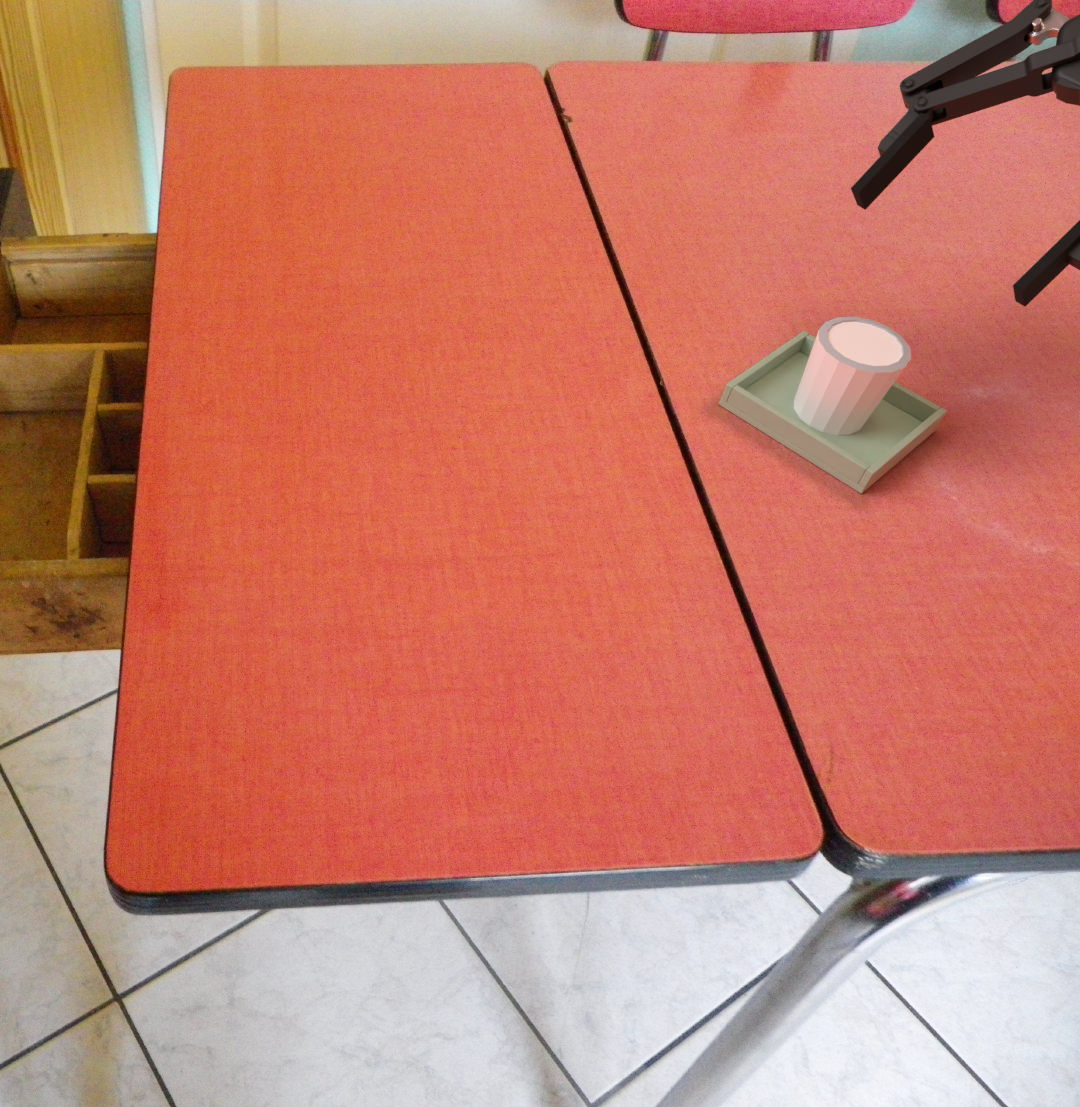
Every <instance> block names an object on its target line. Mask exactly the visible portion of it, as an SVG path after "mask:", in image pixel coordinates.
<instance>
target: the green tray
mask: <svg viewBox="0 0 1080 1107" xmlns="http://www.w3.org/2000/svg"><path fill="white" fill-rule="evenodd" d="M815 339H816V336H814V335H813V334H810V333H809V332H807V331H805V330H802V331H801V332H799V333H798V334H797V335H795V336H794V337H793V338H791V339H789V340H788V341H787V342H785V343H784V344H782V345H781V346H779V347H778V348H776V349H775V350H773V351H772V352H771V353H769V354H767V355H766V356H765V357H764V358H762V359H760V360H759V361H758V362H756V363H755V364H753V365H751V367H749V368H747V369H746V370H745V371H743V372H741V373H740V374H739V375H738V376H735V377H734V378H733V379H731V380H730V381H728V382H727V383H726V384H725V387H724V390H723V392H722V394H721V396H720V399H719V402H718V405H719V406H720V407H722V408H723V409H725V410H727V411H728V412H731V414H733V415H735V416H737V417H738V418H740V420H741V419H742V420H743V421H745V422H746V423H748V424H749V425H751V426H752V427H754V428H756V429H757V430H759V431H760V432H762V433H763V434H765V435H766V436H768V437H770V438H771V439H773V440H774V441H776V442H778V443H780V444H781V445H783V446H784V447H786V448H787V449H789V450H791V451H792V452H794V453H795V454H797V455H798V456H800V457H802V458H803V459H804V460H806V461H808V462H810V463H811V464H813V465H814V466H816V467H818V468H819V469H821V470H822V471H824V472H826V473H827V474H829V475H830V476H832V477H834V478H835V479H837V480H838V481H840V482H842V483H843V484H845V485H846V486H847V487H849V488H851V489H853V490H854V491H856V492H858V493H859V494H864V492H865V491H867V489H869V488H870V487H871V486H872V485H874V484H875V483H876V482H877V481H878V480H879V479H881V478H882V477H883V476H884V475H885V474H886V473H888V472H889V471H890V470H891V469H893V467H895V466H896V465H897V464H899V463H900V462H901V460H903V459H904V458H905V457H906V456H907V455H909V454H910V453H911V452H912V451H913V450H915V449H916V448H917V447H918V446H919V445H920V444H921V443H923V442H924V441H925V440H926V439H927V438H929V437H930V436H931V435H932V434H933V433H934V432H936V430H937V429H938V427H939V425H940V423H941V422H942V420H943V419H944V418H945V416H946V414H947V413H948V410H947V409H945V408H943V407H941V406H940V405H938V404H936V403H935V402H933V401H930V400H929V399H927V398H926V397H924V396H922V395H921V394H918V393H916V392H914V391H913V390H911V389H909V388H907V387H906V386H904V385H902V384H900V383H899V382H897V381H895V382H894V383H893V385H892V386H891V387H890V389H889V390H888V392H887V393H886V394H885V396H884V397H883V399H882V400H881V401H880V403H879V404H878V405H877V407H876V408H875V410H874V411H873V412H872V414H871V415H870V417H869V418H868V419H867V421H866V422H865V423H864V425H863V426H862V428H861V429H860V430H859V431H857V432H855V433H852V434H850V435H833V434H828V433H823V432H820V431H818V430H816V429H814V428H812V427H810V426H808V425H807V424H806V423H805V422H803V421H802V420H801V419H800V418H799V417H798V415H797V413H796V412H795V410H794V399H795V396H796V393H797V390H798V387H799V385H800V382H801V379H802V376H803V373H804V370H805V367H806V365H807V362H808V359H809V356H810V353H811V350H812V348H813V345H814V342H815Z"/></svg>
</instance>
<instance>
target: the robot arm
mask: <svg viewBox="0 0 1080 1107" xmlns="http://www.w3.org/2000/svg"><path fill="white" fill-rule="evenodd" d="M1051 38H1056V42H1055V45H1054V46H1051V47H1048V48H1044V49H1041V50H1038V51H1036V52H1033V53H1031V54H1029V55H1027V57H1025V59H1024V60H1022V61H1019V62H1016V63H1013V64H1010V65H1007V66H1004V67H1001V68H998V69H995V70H992V71H989V70H991V69H993V68H995V67H997V66H999V65H1001V64H1003V63H1004V62H1006V61H1008V60H1010V59H1012V58H1014V57H1016V56H1017V55H1019V54H1021V53H1022V52H1024V51H1025V50H1026V49H1028V48H1029V47H1031V46H1032V45H1034V46H1035V47H1036V46H1040V45H1043V43H1044V42H1045V41H1046V40H1048V39H1051ZM1049 69H1051V71H1050V72H1047V73H1044V72H1045V71H1047V70H1049ZM987 71H989V72H987ZM985 72H986V73H985ZM899 90H900V93H901V98H902V101H903V104H904V107H905V108H906V109H907V112H906V113H905V114H904V115H903V116H902V118H900V119H899V121H897V123H896V124H895V125H894V126H893V127H892V128H891V130H889V131H888V133H887V134H886V135H885V136H884V137H883V138H882V139H881V140H880V142H879V144H878V146H877V151H878V154H879V157H878V158H877V159H876V160H875V162H873V163H872V164H871V166H870V167H869V168H868V169H867V170H866V171H865V172H864V173H863V174H862V176H860V177H859V179H858V180H857V181H856V182H855V183H854V184H853V185H852V186H851V187H850V191H851V193H852V195H853V198H854V200H855V202H856V205H857V206H858V207H860V208H861V209H863V210H864V211H866V210H867V209H868V208H869V207H870V206H871V205H872V204H873V203H874V201H876V199H878V197H879V196H880V195H881V194H883V192H884V191H885V190H887V188H888V187H889V186H890V185H891V183H893V182H894V180H895V179H896V178H897V177H898V176H900V174H901V173H902V172H903V171H904V170H905V168H907V167H908V165H909V164H911V163H912V162H913V160H914V159H916V157H917V156H918V155H919V154H920V153H921V151H922V150H924V149H925V147H926V146H928V144H929V143H930V142H931V141H932V140H933V139H934V138H935V132H934V129H933V126H937V125H939V124H942V123H946V122H948V121H951V120H954V119H958V118H961V117H964V116H967V115H971V114H974V113H976V112H980V111H983V110H987V109H990V108H992V107H996V106H999V105H1003V104H1005V103H1009V102H1011V101H1015V100H1018V99H1020V98H1024V97H1032V98H1034V97H1040V96H1043V95H1046V94H1049V93H1053V92H1054V94H1055V98H1056V100H1058V101H1060V102H1062V103H1065V104H1069V105H1075V106H1079V107H1080V13H1079V14H1077V15H1075V16H1073V17H1069V16H1068V15H1065V14H1064V13H1062V12H1061V11H1059V10H1057V9H1055V8H1054V7H1053V0H1032V1H1031V2H1030V3H1029V4H1027V5H1026V7H1024V8H1023V9H1022V10H1021V11H1020V12H1019V13H1018V14H1017V15H1015V16H1014V17H1013V18H1012V19H1011V20H1008V21H1007V22H1005V23H1003V24H1001V25H999V26H998V27H996V28H994V29H992V30H991V31H989V32H987V33H985V34H984V35H983V34H982V35H981V36H980V37H978V38H976V39H974V40H972V41H971V42H969V43H966V44H965V45H963V46H961V47H960V48H957V49H956V50H954V51H952V52H950V53H948V54H947V55H945V56H943V57H941V58H940V59H938V60H936V61H933V62H932V63H929V65H927V66H925V67H923V68H921V69H920V70H917V71H916V72H914V73H912V74H910V75H908V76H907V77H905V78H904V79H902V80H901V82H900V83H899ZM1068 266H1072V267H1073V268H1075V269H1077V270H1079V271H1080V219H1079V220H1078V221H1077V222H1076V223H1075V224H1074V225H1073V226H1072V227H1071V228H1070V229H1069V230H1068V231H1067V232H1066V233H1065V234H1064V235H1062V237H1061V238H1060V239H1058V241H1057V242H1056V243H1054V244H1053V246H1051V247H1050V248H1049V250H1048V251H1047V252H1045V253H1044V254H1043V255H1042V256H1041V257H1040V258H1039V259H1038V260H1037V261H1036V262H1035V263H1034V264H1033V265H1032V266H1031V267H1030V268H1029V269H1028V270H1027V271H1026V272H1025V273H1023V275H1022V276H1021V277H1020V278H1018V279H1017V281H1015V283H1014V284H1012V288H1013V295H1014V300H1015V302H1016V303H1018V304H1019V305H1021V306H1022V307H1027V305H1029V304H1030V303H1031V302H1032V301H1033V300H1034V299H1035V298H1037V296H1038V295H1039V294H1040V293H1041V292H1042V291H1043V290H1044V289H1045V288H1047V286H1048V285H1050V283H1052V282H1053V281H1054V279H1056V278H1057V277H1058V276H1059V275H1060V274H1061V273H1062V272H1063V271H1064V270H1065V269H1066V268H1068Z"/></svg>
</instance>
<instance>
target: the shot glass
mask: <svg viewBox="0 0 1080 1107" xmlns="http://www.w3.org/2000/svg"><path fill="white" fill-rule="evenodd" d="M815 337H816V339H815V342H814V345H813V348H812V350H811V353H810V356H809V359H808V362H807V365H806V367H805V370H804V373H803V376H802V379H801V382H800V385H799V387H798V390H797V393H796V396H795V399H794V410H795V412H796V413H797V415H798V417H799V418H800V419H801V420H802V421H803V422H805V423H806V424H807V425H808V426H810V427H812V428H814V429H816V430H818V431H820V432H823V433H828V434H833V435H850V434H852V433H855V432H857V431H859V430H860V429H861V428H862V426H863V425H864V423H865V422H866V421H867V419H868V418H869V417H870V415H871V414H872V412H873V411H874V410H875V408H876V407H877V405H878V404H879V403H880V401H881V400H882V399H883V397H884V396H885V394H886V393H887V392H888V390H889V389H890V387H891V386H892V385H893V383H894V382H896V380H897V379H898V378H899V377H900V376H901V373H902V372H903V371H904V370H905V368H906V367H907V365H908V364H909V363H910V361H911V359H912V351H911V349H912V348H911V346H909V343H907V341H906V339H905V338H904V337H903V336H902V335H901V334H900V333H898V332H896V331H895V330H894V329H892V328H891V327H890V326H887V325H885V324H884V323H883V324H882V323H881V322H878V321H876V320H873V319H870V318H863V317H859V316H837V317H835V318H832V319H830V320H827V321H825V322H824V323H823V324H822V325H821V326H820V327H819V328H818V331H817V334H816V336H815Z"/></svg>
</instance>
